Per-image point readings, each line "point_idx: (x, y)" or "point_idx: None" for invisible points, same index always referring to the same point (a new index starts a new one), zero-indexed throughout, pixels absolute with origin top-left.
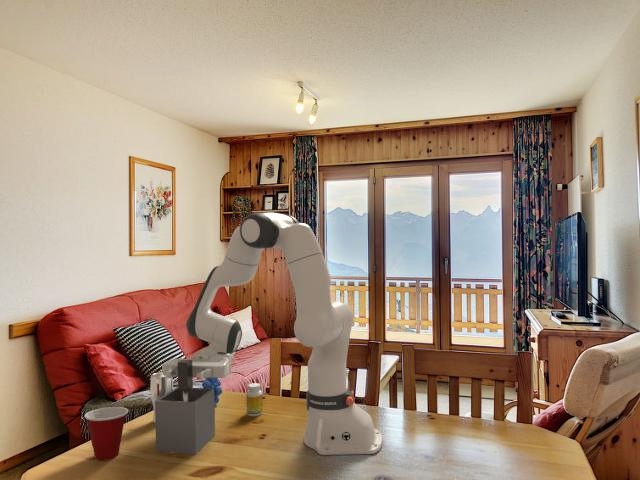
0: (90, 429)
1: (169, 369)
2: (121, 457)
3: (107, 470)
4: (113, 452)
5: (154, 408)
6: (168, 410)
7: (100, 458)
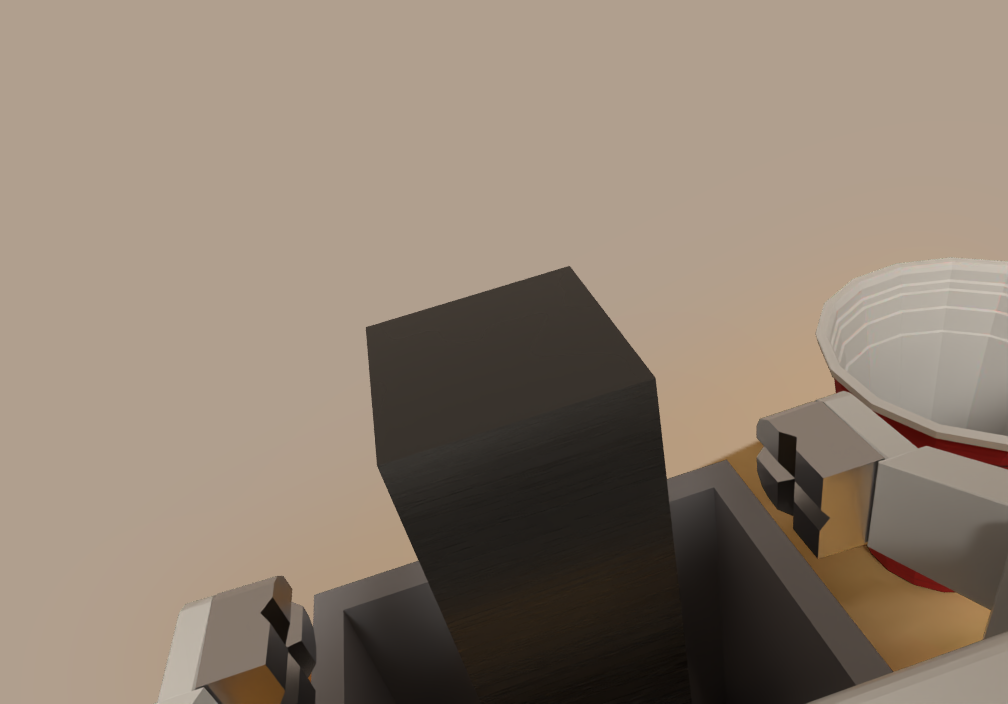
0: (931, 335)
1: (992, 468)
2: (838, 568)
3: (745, 477)
4: None
5: None
6: None
7: None
